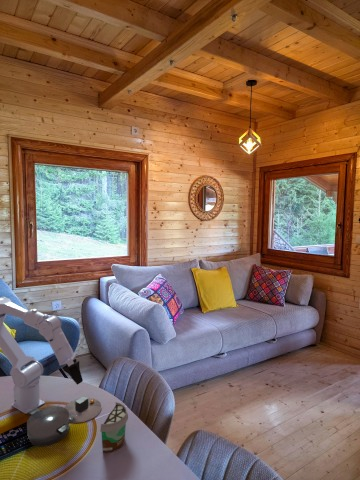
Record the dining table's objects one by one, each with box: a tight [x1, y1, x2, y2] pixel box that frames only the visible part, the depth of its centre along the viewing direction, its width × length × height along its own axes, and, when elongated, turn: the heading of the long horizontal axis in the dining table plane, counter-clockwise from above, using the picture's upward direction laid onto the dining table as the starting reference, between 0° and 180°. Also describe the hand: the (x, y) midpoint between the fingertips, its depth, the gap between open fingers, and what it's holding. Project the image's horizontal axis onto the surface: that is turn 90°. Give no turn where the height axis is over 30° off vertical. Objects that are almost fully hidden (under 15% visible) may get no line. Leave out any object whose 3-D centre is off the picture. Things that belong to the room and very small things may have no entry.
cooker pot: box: [26, 405, 71, 447], centre depth 106 cm, size 18×13×5 cm
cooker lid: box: [63, 395, 102, 424], centre depth 118 cm, size 14×14×4 cm
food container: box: [99, 401, 129, 454], centre depth 101 cm, size 12×6×10 cm, turn 168°
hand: (78, 381), depth 114 cm, fingers open, 7 cm apart
